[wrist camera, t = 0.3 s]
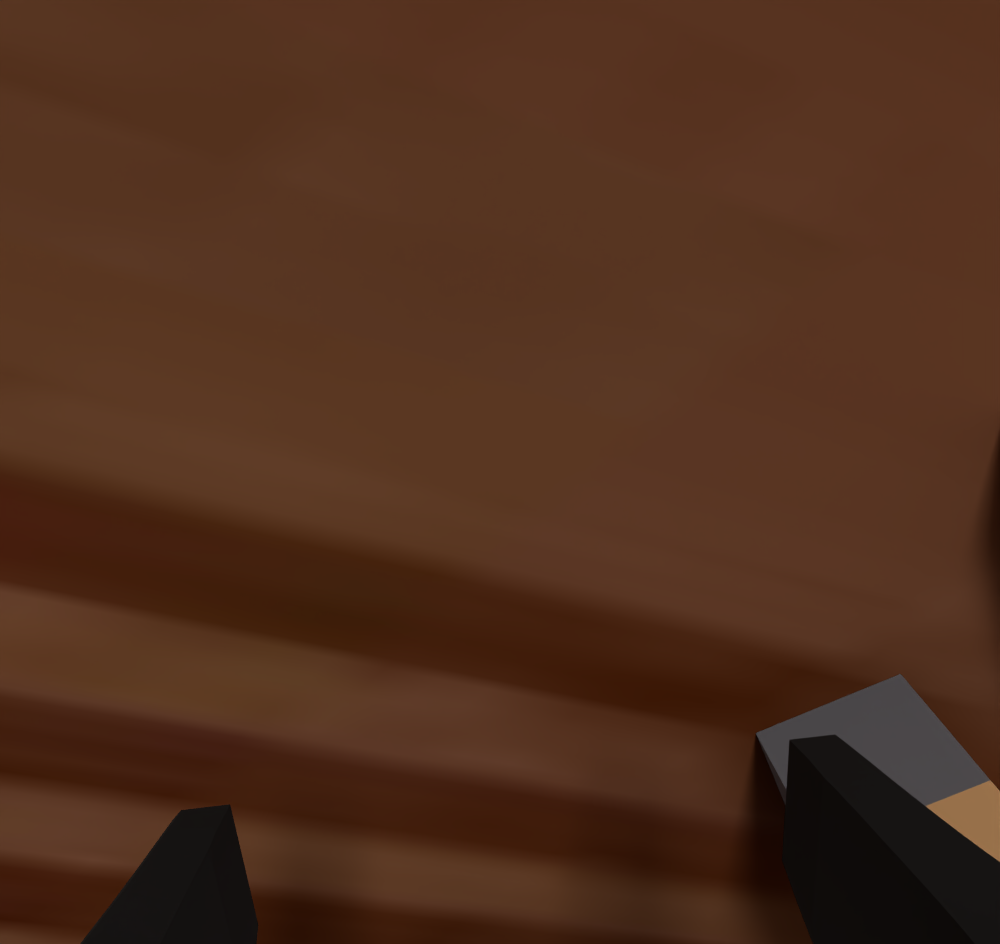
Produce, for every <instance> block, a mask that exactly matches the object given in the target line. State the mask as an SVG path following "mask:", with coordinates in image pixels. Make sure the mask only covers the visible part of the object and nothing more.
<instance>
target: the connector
mask: <svg viewBox="0 0 1000 944" xmlns="http://www.w3.org/2000/svg"><path fill="white" fill-rule="evenodd" d="M834 734H835V735H837V736H838V737H839V738H841V739H842V740H843V741H844V742H846V743H847V744H848V745H850V746H851V747H852V748H853V749H855V750H856V751H857V752H858V753H860V754H861V755H862V756H863V757H865V758H866V759H867V760H868V761H870V762H871V763H872V764H873V765H875V766H876V767H877V768H878V769H879V770H881V771H882V772H883V773H884V774H886V775H887V776H888V777H889V778H891V779H892V780H893V781H894V782H896V783H897V784H898V785H899V786H901V787H902V788H903V789H904V790H906V791H907V792H908V793H909V794H911V795H912V796H913V797H915V798H916V799H917V800H918V801H920V802H921V803H922V804H923V805H925V806H926V807H927V808H928V809H930V810H931V811H932V812H934V813H935V814H936V815H938V816H939V817H940V818H941V819H943V820H944V821H945V822H947V823H948V824H949V825H951V826H952V827H953V828H954V829H956V830H957V831H958V832H960V833H961V834H962V835H964V836H965V837H966V838H968V839H969V840H970V841H972V842H973V843H974V844H976V845H977V846H979V847H980V848H981V849H983V850H984V851H985V852H987V853H988V854H990V855H991V856H992V857H994V858H995V859H996V860H998V861H999V862H1000V791H999V790H998V789H997V788H996V786H995V785H994V784H993V783H992V782H991V781H990V779H989V778H988V777H987V776H986V775H985V773H984V772H983V771H982V770H981V769H980V768H979V766H978V765H977V764H976V763H975V762H974V760H973V759H972V758H971V757H970V756H969V755H968V753H967V752H966V751H965V750H964V749H963V747H962V746H961V745H960V744H959V743H958V741H957V740H956V739H955V738H954V737H953V736H952V734H951V733H950V732H949V731H948V730H947V728H946V727H945V726H944V725H943V724H942V723H941V721H940V720H939V719H938V718H937V717H936V715H935V714H934V713H933V712H932V711H931V710H930V708H929V707H928V706H927V705H926V704H925V702H924V701H923V700H922V699H921V698H920V697H919V695H918V694H917V693H916V692H915V691H914V689H913V688H912V687H911V686H910V685H909V683H908V682H907V681H906V680H905V679H904V678H903V676H902V675H901V674H899V675H897V676H894V677H892V678H890V679H887V680H885V681H882V682H880V683H877V684H875V685H872V686H870V687H868V688H865V689H863V690H860V691H858V692H855V693H853V694H850V695H848V696H846V697H843V698H841V699H838V700H836V701H833V702H831V703H828V704H826V705H824V706H821V707H819V708H816V709H814V710H811V711H809V712H806V713H804V714H802V715H799V716H797V717H794V718H792V719H789V720H787V721H784V722H782V723H780V724H777V725H775V726H772V727H770V728H767V729H765V730H762V731H760V732H758V733H756V735H757V737H758V740H759V742H760V745H761V747H762V750H763V752H764V754H765V757H766V759H767V762H768V764H769V767H770V769H771V771H772V774H773V776H774V779H775V781H776V784H777V786H778V789H779V791H780V793H781V796H782V798H783V801H784V803H785V804H786V787H787V771H788V754H789V740H791V739H799V738H808V737H817V736H825V735H834Z"/></svg>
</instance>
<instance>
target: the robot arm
mask: <svg viewBox="0 0 1000 944" xmlns="http://www.w3.org/2000/svg"><path fill="white" fill-rule="evenodd" d="M782 861H783V864H784V867H785V870H786V872H787V875H788V878H789V881H790V884H791V887H792V889H793V892H794V895H795V898H796V901H797V903H798V906H799V909H800V911H801V914H802V916H803V919H804V922H805V924H806V927H807V929H808V932H809V935H810V937H811V939H812V942H813V944H1000V862H999V861H998V860H996V859H995V858H994V857H992V856H991V855H990V854H988V853H987V852H985V851H984V850H983V849H981V848H980V847H979V846H977V845H976V844H974V843H973V842H972V841H970V840H969V839H968V838H966V837H965V836H964V835H962V834H961V833H960V832H958V831H957V830H956V829H954V828H953V827H952V826H951V825H949V824H948V823H947V822H945V821H944V820H943V819H941V818H940V817H939V816H938V815H936V814H935V813H934V812H932V811H931V810H930V809H928V808H927V807H926V806H925V805H923V804H922V803H921V802H920V801H918V800H917V799H916V798H915V797H913V796H912V795H911V794H909V793H908V792H907V791H906V790H904V789H903V788H902V787H901V786H899V785H898V784H897V783H896V782H894V781H893V780H892V779H891V778H889V777H888V776H887V775H886V774H884V773H883V772H882V771H881V770H879V769H878V768H877V767H876V766H875V765H873V764H872V763H871V762H870V761H868V760H867V759H866V758H865V757H863V756H862V755H861V754H860V753H858V752H857V751H856V750H855V749H853V748H852V747H851V746H850V745H848V744H847V743H846V742H844V741H843V740H842V739H841V738H839V737H838V736H837V735H835V734H834V735H825V736H817V737H808V738H799V739H791V740H789V754H788V771H787V787H786V804H785V821H784V837H783V854H782ZM257 931H258V922H257V918H256V914H255V909H254V905H253V901H252V896H251V892H250V888H249V884H248V879H247V875H246V871H245V866H244V862H243V858H242V854H241V849H240V845H239V841H238V837H237V832H236V828H235V824H234V819H233V815H232V811H231V807H230V805H222V806H214V807H205V808H196V809H188V810H181V811H180V812H179V813H178V815H177V816H176V817H175V818H174V819H173V821H172V822H171V823H170V825H169V826H168V827H167V829H166V830H165V831H164V833H163V834H162V836H161V837H160V838H159V840H158V841H157V842H156V844H155V845H154V847H153V848H152V849H151V851H150V852H149V853H148V855H147V856H146V858H145V859H144V860H143V862H142V863H141V864H140V866H139V867H138V869H137V870H136V871H135V873H134V874H133V875H132V877H131V878H130V879H129V881H128V882H127V883H126V885H125V886H124V888H123V889H122V890H121V892H120V893H119V894H118V896H117V897H116V898H115V900H114V901H113V902H112V904H111V905H110V906H109V908H108V909H107V910H106V911H105V913H104V914H103V915H102V917H101V918H100V919H99V920H98V922H97V923H96V924H95V926H94V927H93V928H92V929H91V931H90V932H89V933H88V935H87V936H86V937H85V938H84V940H83V941H82V942H81V944H256V941H257Z"/></svg>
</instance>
